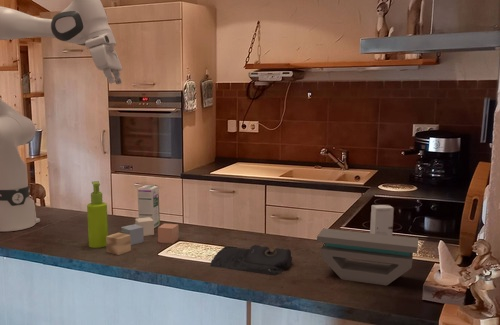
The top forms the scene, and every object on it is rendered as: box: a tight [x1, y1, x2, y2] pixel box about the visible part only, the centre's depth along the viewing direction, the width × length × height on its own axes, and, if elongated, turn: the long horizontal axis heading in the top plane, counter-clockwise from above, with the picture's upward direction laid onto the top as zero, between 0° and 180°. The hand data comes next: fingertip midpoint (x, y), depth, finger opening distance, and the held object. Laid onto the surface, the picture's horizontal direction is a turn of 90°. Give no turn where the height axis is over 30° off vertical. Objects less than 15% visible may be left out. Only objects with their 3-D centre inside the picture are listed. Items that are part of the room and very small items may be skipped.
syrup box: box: [136, 184, 161, 229], centre depth 176 cm, size 6×6×14 cm
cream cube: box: [134, 217, 155, 237], centre depth 168 cm, size 5×5×5 cm
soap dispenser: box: [86, 180, 109, 249], centre depth 155 cm, size 6×7×20 cm
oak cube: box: [106, 232, 132, 256], centre depth 150 cm, size 5×5×5 cm
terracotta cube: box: [157, 222, 180, 244], centre depth 161 cm, size 5×5×5 cm
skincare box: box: [369, 204, 395, 236], centre depth 159 cm, size 6×4×12 cm
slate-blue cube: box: [120, 223, 145, 246], centre depth 159 cm, size 5×5×5 cm
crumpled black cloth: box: [210, 244, 293, 276], centre depth 142 cm, size 15×22×5 cm
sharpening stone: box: [316, 228, 419, 286], centre depth 131 cm, size 25×8×11 cm, turn 70°
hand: (115, 83), depth 165 cm, fingers open, 8 cm apart
